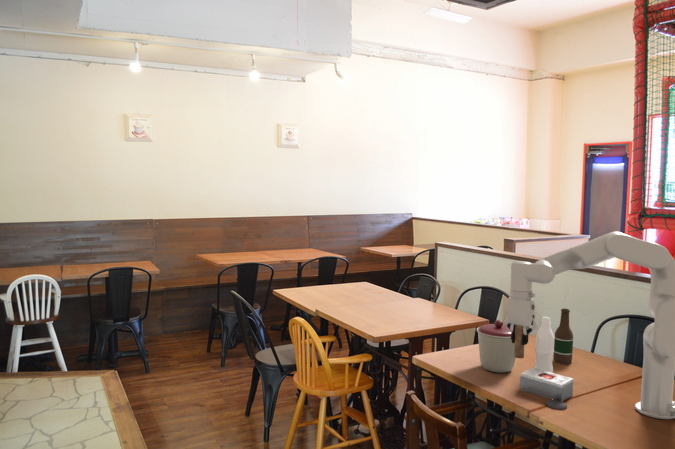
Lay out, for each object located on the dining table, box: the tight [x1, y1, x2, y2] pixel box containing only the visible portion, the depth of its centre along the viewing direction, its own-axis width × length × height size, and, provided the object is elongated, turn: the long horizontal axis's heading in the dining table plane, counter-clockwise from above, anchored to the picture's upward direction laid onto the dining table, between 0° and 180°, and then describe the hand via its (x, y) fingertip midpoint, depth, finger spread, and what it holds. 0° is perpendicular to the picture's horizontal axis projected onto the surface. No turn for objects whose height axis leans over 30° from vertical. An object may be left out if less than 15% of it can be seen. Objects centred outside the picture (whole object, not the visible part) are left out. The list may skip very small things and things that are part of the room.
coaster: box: [545, 399, 568, 411], centre depth 193 cm, size 7×7×1 cm
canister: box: [476, 319, 516, 374], centre depth 230 cm, size 18×18×21 cm
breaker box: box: [519, 367, 574, 402], centre depth 205 cm, size 16×10×6 cm, turn 45°
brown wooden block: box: [514, 325, 525, 359], centre depth 201 cm, size 3×3×14 cm
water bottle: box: [533, 316, 555, 373], centre depth 220 cm, size 7×7×25 cm
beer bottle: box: [552, 307, 574, 366], centre depth 241 cm, size 8×8×24 cm
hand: (519, 342), depth 202 cm, fingers closed on brown wooden block, 3 cm apart
